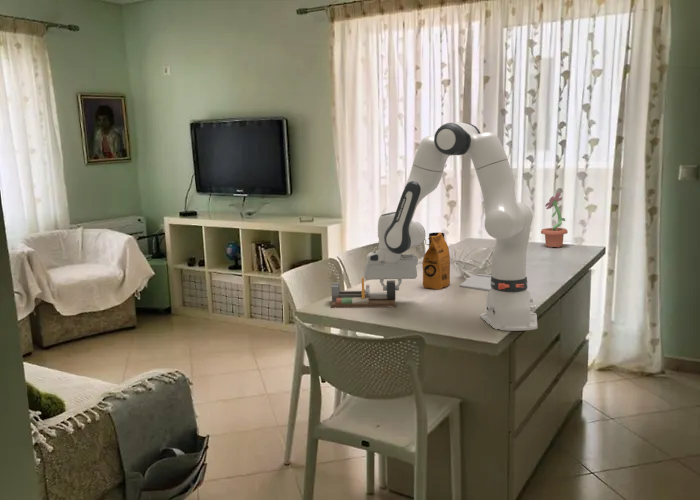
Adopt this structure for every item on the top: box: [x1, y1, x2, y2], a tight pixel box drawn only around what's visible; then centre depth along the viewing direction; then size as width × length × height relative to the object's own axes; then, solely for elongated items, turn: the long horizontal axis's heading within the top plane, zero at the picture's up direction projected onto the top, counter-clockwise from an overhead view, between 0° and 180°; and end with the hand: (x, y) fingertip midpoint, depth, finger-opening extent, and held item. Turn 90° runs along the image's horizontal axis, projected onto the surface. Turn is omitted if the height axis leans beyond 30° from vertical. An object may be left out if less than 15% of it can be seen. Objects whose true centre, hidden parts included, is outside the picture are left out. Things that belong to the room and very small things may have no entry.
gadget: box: [459, 273, 492, 292], centre depth 256 cm, size 23×15×4 cm, turn 138°
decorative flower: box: [540, 192, 568, 248], centre depth 330 cm, size 15×14×30 cm
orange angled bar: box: [361, 277, 366, 298], centre depth 228 cm, size 3×1×8 cm, turn 175°
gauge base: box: [330, 281, 396, 309], centre depth 234 cm, size 14×24×7 cm, turn 85°
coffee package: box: [422, 232, 451, 291], centre depth 254 cm, size 10×12×22 cm
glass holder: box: [416, 232, 446, 256], centre depth 299 cm, size 9×14×15 cm, turn 81°
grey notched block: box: [361, 279, 397, 300], centre depth 232 cm, size 6×13×7 cm, turn 85°
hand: (391, 290), depth 233 cm, fingers closed on grey notched block, 3 cm apart
